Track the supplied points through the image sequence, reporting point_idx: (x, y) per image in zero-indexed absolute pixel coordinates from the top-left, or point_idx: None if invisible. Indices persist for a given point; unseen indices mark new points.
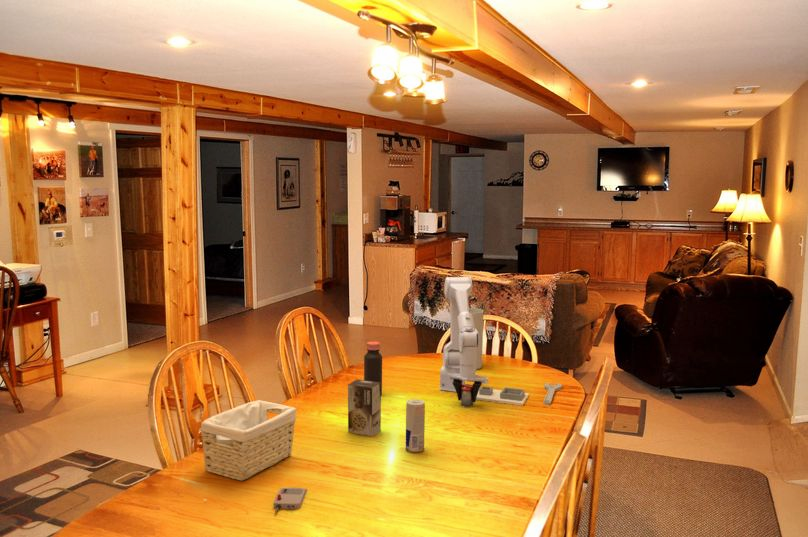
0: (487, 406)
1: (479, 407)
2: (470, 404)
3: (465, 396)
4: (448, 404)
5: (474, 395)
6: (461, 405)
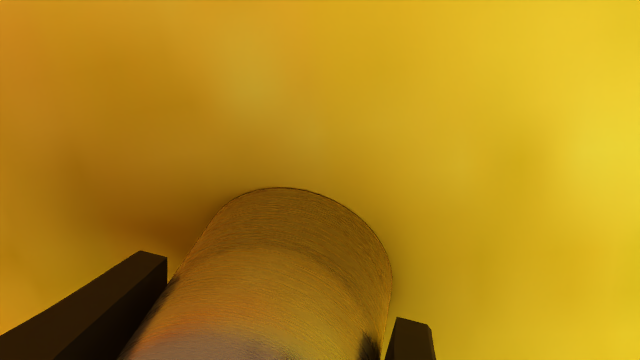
0: (20, 245)
1: (100, 197)
2: (213, 224)
3: (249, 320)
4: (609, 281)
5: (46, 324)
6: (374, 237)
